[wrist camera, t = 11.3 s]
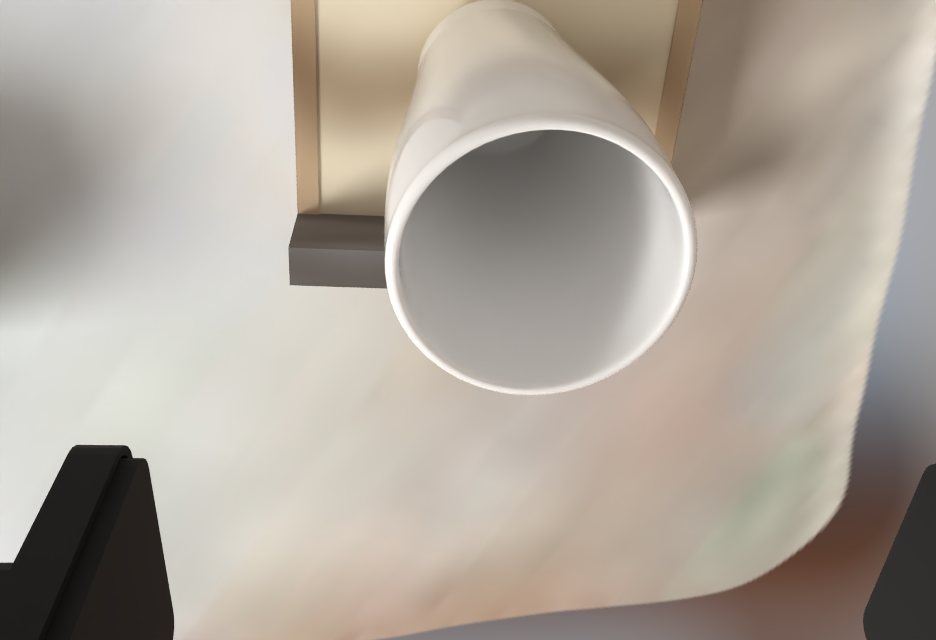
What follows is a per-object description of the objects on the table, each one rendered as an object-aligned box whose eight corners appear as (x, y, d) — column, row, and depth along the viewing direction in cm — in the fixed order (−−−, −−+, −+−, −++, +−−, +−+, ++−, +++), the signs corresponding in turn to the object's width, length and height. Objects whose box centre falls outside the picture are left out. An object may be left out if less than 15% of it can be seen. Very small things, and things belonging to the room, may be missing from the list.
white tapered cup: (582, 160, 33) (686, 394, 20) (402, 167, 33) (391, 408, 20) (592, -32, 30) (723, 105, 17) (390, -25, 30) (367, 118, 17)
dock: (296, -164, 30) (272, -154, 25) (700, -134, 31) (757, -118, 26) (307, 216, 37) (289, 285, 32) (635, 229, 38) (669, 298, 33)
